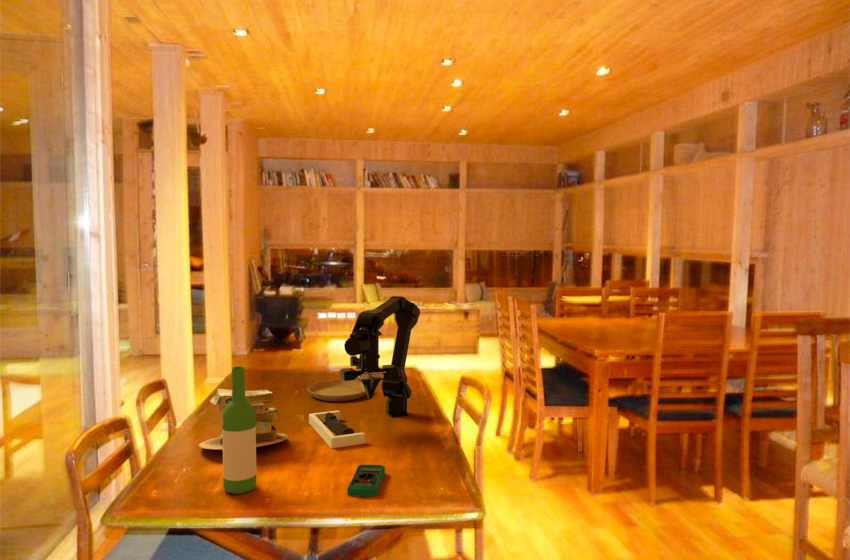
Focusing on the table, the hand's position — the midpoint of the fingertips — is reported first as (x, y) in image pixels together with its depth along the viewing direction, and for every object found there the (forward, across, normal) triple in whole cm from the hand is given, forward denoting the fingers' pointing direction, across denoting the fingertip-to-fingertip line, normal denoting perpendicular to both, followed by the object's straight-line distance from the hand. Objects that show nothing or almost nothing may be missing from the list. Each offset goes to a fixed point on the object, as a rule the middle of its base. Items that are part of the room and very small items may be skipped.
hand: (369, 398), depth 193 cm
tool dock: (+10, +11, 0) cm, 15 cm away
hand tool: (+10, +11, -1) cm, 15 cm away
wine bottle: (+10, +45, +32) cm, 56 cm away
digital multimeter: (+10, +16, +42) cm, 46 cm away
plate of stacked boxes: (+10, +39, +1) cm, 41 cm away
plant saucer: (+10, -3, -45) cm, 46 cm away
